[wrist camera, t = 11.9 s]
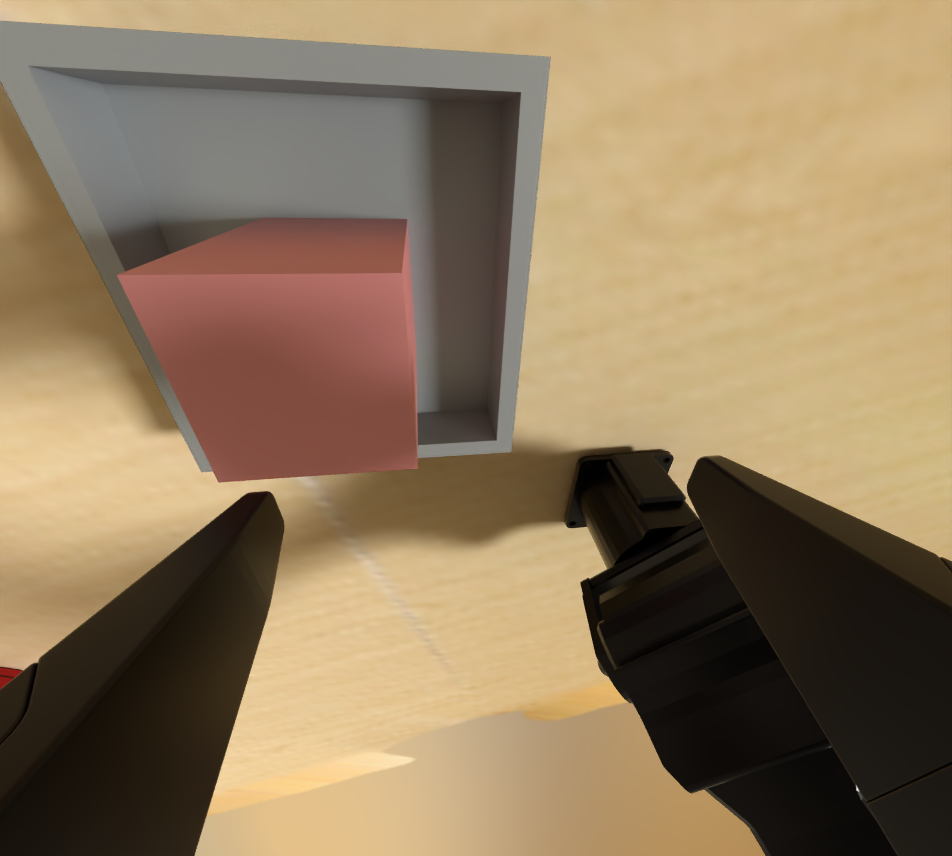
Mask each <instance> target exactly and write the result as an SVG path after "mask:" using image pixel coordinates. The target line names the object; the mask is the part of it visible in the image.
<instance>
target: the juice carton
mask: <svg viewBox="0 0 952 856" xmlns="http://www.w3.org/2000/svg"><path fill="white" fill-rule="evenodd" d="M117 277H118V279H119V281H120V283H121V285H122V287H123V289H124V291H125V293H126V295H127V297H128V299H129V301H130V303H131V305H132V307H133V309H134V311H135V313H136V315H137V317H138V319H139V321H140V323H141V326H142V328H143V330H144V332H145V334H146V336H147V338H148V340H149V342H150V344H151V346H152V348H153V350H154V352H155V354H156V356H157V358H158V360H159V362H160V364H161V366H162V368H163V370H164V372H165V374H166V376H167V378H168V380H169V383H170V385H171V387H172V389H173V391H174V393H175V395H176V397H177V399H178V401H179V403H180V405H181V407H182V409H183V411H184V413H185V415H186V417H187V419H188V421H189V423H190V425H191V427H192V429H193V431H194V433H195V435H196V437H197V439H198V442H199V444H200V446H201V448H202V450H203V452H204V454H205V456H206V458H207V460H208V462H209V464H210V466H211V468H212V470H213V472H214V474H215V476H216V478H217V480H218V482H230V481H245V480H260V479H274V478H289V477H303V476H318V475H332V474H347V473H362V472H376V471H391V470H405V469H418V429H417V358H416V335H415V321H414V306H413V292H412V278H411V263H410V249H409V235H408V220H407V219H351V218H261V219H259V220H256V221H253V222H251V223H248V224H246V225H243V226H241V227H238V228H236V229H233V230H230V231H228V232H225V233H223V234H220V235H218V236H215V237H213V238H210V239H208V240H205V241H202V242H200V243H197V244H195V245H192V246H190V247H187V248H185V249H182V250H179V251H177V252H174V253H172V254H169V255H167V256H164V257H162V258H159V259H157V260H154V261H151V262H149V263H146V264H144V265H141V266H139V267H136V268H134V269H131V270H128V271H126V272H123V273H121V274H118V275H117Z"/></svg>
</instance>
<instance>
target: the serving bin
mask: <svg viewBox="0 0 952 856" xmlns="http://www.w3.org/2000/svg"><path fill="white" fill-rule="evenodd" d="M550 59H551V57H544V56H529V55H513V54H498V53H483V52H468V51H453V50H437V49H422V48H407V47H392V46H376V45H361V44H346V43H331V42H316V41H300V40H285V39H270V38H255V37H239V36H224V35H209V34H194V33H179V32H163V31H148V30H133V29H118V28H102V27H87V26H72V25H57V24H41V23H26V22H11V21H0V81H1V83H2V85H3V87H4V89H5V91H6V93H7V95H8V97H9V99H10V101H11V103H12V105H13V106H14V108H15V110H16V112H17V114H18V116H19V118H20V120H21V122H22V124H23V126H24V128H25V130H26V132H27V134H28V136H29V138H30V140H31V142H32V143H33V145H34V147H35V149H36V151H37V153H38V155H39V157H40V159H41V161H42V163H43V165H44V167H45V169H46V171H47V173H48V175H49V177H50V178H51V180H52V182H53V184H54V186H55V188H56V190H57V192H58V194H59V196H60V198H61V200H62V202H63V204H64V206H65V208H66V210H67V212H68V214H69V215H70V217H71V219H72V221H73V223H74V225H75V227H76V229H77V231H78V233H79V235H80V237H81V239H82V241H83V243H84V245H85V247H86V249H87V250H88V252H89V254H90V256H91V258H92V260H93V262H94V264H95V266H96V268H97V270H98V272H99V274H100V276H101V278H102V280H103V282H104V284H105V286H106V287H107V289H108V291H109V293H110V295H111V297H112V299H113V301H114V303H115V305H116V307H117V309H118V311H119V313H120V315H121V317H122V319H123V321H124V323H125V324H126V326H127V328H128V330H129V332H130V334H131V336H132V338H133V340H134V342H135V344H136V346H137V348H138V350H139V352H140V354H141V356H142V358H143V359H144V361H145V363H146V365H147V367H148V369H149V371H150V373H151V375H152V377H153V379H154V381H155V383H156V385H157V387H158V389H159V391H160V393H161V395H162V396H163V398H164V400H165V402H166V404H167V406H168V408H169V410H170V412H171V414H172V416H173V418H174V420H175V422H176V424H177V426H178V428H179V430H180V431H181V433H182V435H183V437H184V439H185V441H186V443H187V445H188V447H189V449H190V451H191V453H192V455H193V457H194V459H195V461H196V463H197V465H198V467H199V468H200V470H201V472H211V471H213V470H212V468H211V466H210V464H209V462H208V460H207V458H206V456H205V454H204V452H203V450H202V448H201V446H200V444H199V442H198V439H197V437H196V435H195V433H194V431H193V429H192V427H191V425H190V423H189V421H188V419H187V417H186V415H185V413H184V411H183V409H182V407H181V405H180V403H179V401H178V399H177V397H176V395H175V393H174V391H173V389H172V387H171V385H170V383H169V380H168V378H167V376H166V374H165V372H164V370H163V368H162V366H161V364H160V362H159V360H158V358H157V356H156V354H155V352H154V350H153V348H152V346H151V344H150V342H149V340H148V338H147V336H146V334H145V332H144V330H143V328H142V326H141V323H140V321H139V319H138V317H137V315H136V313H135V311H134V309H133V307H132V305H131V303H130V301H129V299H128V297H127V295H126V293H125V291H124V289H123V287H122V285H121V283H120V281H119V279H118V277H117V275H118V274H121V273H123V272H126V271H128V270H131V269H134V268H136V267H139V266H141V265H144V264H146V263H149V262H151V261H154V260H157V259H159V258H162V257H164V256H167V255H169V254H172V253H174V252H177V251H179V250H182V249H185V248H187V247H190V246H192V245H195V244H197V243H200V242H202V241H205V240H208V239H210V238H213V237H215V236H218V235H220V234H223V233H225V232H228V231H230V230H233V229H236V228H238V227H241V226H243V225H246V224H248V223H251V222H253V221H256V220H259V219H261V218H351V219H407V220H408V235H409V249H410V263H411V278H412V292H413V306H414V321H415V335H416V358H417V429H418V458H428V457H443V456H459V455H474V454H490V453H506V452H511V450H512V440H513V430H514V420H515V410H516V400H517V390H518V380H519V370H520V360H521V350H522V340H523V330H524V320H525V310H526V300H527V290H528V280H529V270H530V260H531V250H532V240H533V230H534V220H535V210H536V200H537V190H538V180H539V170H540V160H541V149H542V139H543V129H544V119H545V109H546V99H547V89H548V79H549V69H550Z"/></svg>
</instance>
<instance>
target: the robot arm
mask: <svg viewBox="0 0 952 856" xmlns="http://www.w3.org/2000/svg"><path fill="white" fill-rule="evenodd" d="M672 462H673V456H672V455H671V453H670V452H668V451H658V452H643V453H628V454H613V455H599V456H586V457H583V458H581V459H580V460H579V461H578V464H577V468H576V472H575V477H574V481H573V485H572V490H571V494H570V498H569V503H568V507H567V511H566V516H565V520H564V521H565V524H566V526H567V527H568V528H579V527H588V529H589V531H590V533H591V535H592V538H593V540H594V542H595V544H596V546H597V548H598V550H599V552H600V554H601V557H602V559H603V561H604V563H605V565H606V567H607V570H605V571H603V572H601V573H600V574H598V575H596V576H594V577H592V578H590V579H589V578H587V579H585V580H583V581H582V582H580V583H581V588H582V592H583V595H582V597H583V602H584V606H585V610H586V615H587V619H588V624H589V628H590V632H591V637H592V641H593V646H594V650H595V654H596V657H597V659H598V666H599V668H600V670H601V672H602V673H603V674H604V675H606V676H608V677H609V678H610V680H611V681H612V683H613V685H614V686H615V688H616V689H617V690H618V692H619V693H620V694H621V695H622V697H623V698H624V699H625V700H626V701H628V702H629V703H632V704H634V706H635V708H636V710H637V712H638V714H639V715H640V717H641V719H642V721H643V723H644V725H645V728H646V730H647V732H648V734H649V736H650V738H651V741H652V743H653V745H654V747H655V749H656V752H657V754H658V756H659V758H660V760H661V762H662V764H663V766H664V768H665V769H666V770H667V771H668V772H669V773H670V774H671V775H672V776H673V777H674V778H675V779H676V780H677V781H678V782H679V783H680V785H681V786H682V787H683V788H684V789H685V790H687V791H688V792H689V793H695V792H698V791H701V790H706V791H707V792H708V793H709V794H711V796H713V797H714V798H715V799H716V800H717V801H719V802H720V803H721V804H722V805H724V806H725V807H726V808H727V809H728V810H730V811H731V812H732V813H733V814H734V815H736V816H737V817H738V818H739V819H740V820H742V821H743V822H744V823H745V824H746V825H747V826H748V827H749V828H750V830H751V831H752V833H753V835H754V836H755V838H756V840H757V842H758V843H759V845H760V847H761V848H762V850H763V852H764V854H765V855H766V856H952V561H950V560H948V559H945V558H943V557H938V556H937V555H936V554H934V553H932V552H930V551H928V550H926V549H923V548H921V547H919V546H917V545H915V544H912V543H910V542H908V541H906V540H904V539H902V538H899V537H897V536H895V535H893V534H891V533H888V532H886V531H884V530H882V529H880V528H878V527H875V526H873V525H871V524H869V523H867V522H864V521H862V520H860V519H858V518H856V517H854V516H851V515H849V514H847V513H845V512H843V511H840V510H838V509H836V508H834V507H832V506H830V505H827V504H825V503H823V502H821V501H819V500H816V499H814V498H812V497H810V496H808V495H806V494H803V493H801V492H799V491H797V490H795V489H792V488H790V487H788V486H786V485H784V484H782V483H779V482H777V481H775V480H773V479H771V478H768V477H766V476H764V475H762V474H760V473H758V472H755V471H753V470H751V469H749V468H747V467H744V466H742V465H740V464H738V463H736V462H734V461H731V460H729V459H727V458H725V457H722V456H704V457H701V458H700V459H698V460H697V462H696V465H695V467H694V469H693V472H692V474H691V476H690V479H689V481H688V484H687V492H688V496H689V498H690V500H691V502H692V504H693V506H694V508H695V510H696V512H697V515H698V517H699V518H698V517H697V515H696V514H695V513H694V512H693V510H692V509H691V508H690V507H689V505H688V504H687V503H686V502H685V499H686V497H685V495H684V494H683V493H682V491H681V490H680V489H679V488H678V486H677V485H676V484H675V483H674V481H673V480H672V479H671V478H670V476H669V475H668V471H669V469H670V467H671V464H672ZM587 463H588V464H587ZM585 464H587V465H585ZM283 534H284V520H283V517H282V515H281V512H280V510H279V508H278V505H277V503H276V500H275V498H274V496H273V494H272V493H271V492H268V491H264V492H251V493H247V494H246V495H244V496H243V497H241V498H240V499H239V500H238V501H236V502H235V503H234V504H233V505H231V506H230V507H229V508H228V509H226V510H225V511H224V512H223V513H221V514H220V515H219V516H218V517H216V518H215V519H214V520H213V521H211V522H210V523H209V524H208V525H206V526H205V527H204V528H202V529H201V530H200V531H199V532H197V533H196V534H195V535H194V536H192V537H191V538H190V539H189V540H187V541H186V542H185V543H184V544H182V545H181V546H180V547H179V548H177V549H176V550H175V551H174V552H172V553H171V554H170V555H169V556H167V557H166V558H165V559H164V560H162V561H161V562H160V563H158V564H157V565H156V566H155V567H153V568H152V569H151V570H150V571H148V572H147V573H146V574H145V575H143V576H142V577H141V578H140V579H138V580H137V581H136V582H135V583H133V584H132V585H131V586H130V587H128V588H127V589H126V590H125V591H123V592H122V593H121V594H119V595H118V596H117V597H116V598H114V599H113V600H112V601H111V602H109V603H108V604H107V605H106V606H104V607H103V608H102V609H101V610H99V611H98V612H97V613H96V614H94V615H93V616H92V617H91V618H89V619H88V620H87V621H86V622H84V623H83V624H82V625H80V626H79V627H78V628H77V629H75V630H74V631H73V632H72V633H70V634H69V635H68V636H67V637H65V638H64V639H63V640H62V641H60V642H59V643H58V644H57V645H55V646H54V647H53V648H52V649H50V650H49V651H48V652H46V653H45V654H44V655H43V656H41V657H40V659H39V661H38V663H33V664H31V665H30V666H29V667H27V668H26V669H25V670H24V671H22V672H21V673H20V674H19V675H17V676H16V677H15V678H14V679H12V680H11V681H10V682H9V683H7V684H6V685H5V686H3V687H2V688H1V689H0V856H194V855H195V852H196V849H197V845H198V842H199V838H200V835H201V832H202V829H203V826H204V822H205V819H206V816H207V812H208V809H209V806H210V803H211V799H212V796H213V793H214V789H215V786H216V783H217V780H218V776H219V773H220V770H221V766H222V763H223V760H224V756H225V753H226V750H227V747H228V743H229V740H230V737H231V733H232V730H233V727H234V724H235V720H236V717H237V714H238V710H239V707H240V704H241V701H242V697H243V694H244V691H245V687H246V684H247V681H248V677H249V674H250V671H251V668H252V664H253V661H254V658H255V654H256V651H257V648H258V645H259V641H260V638H261V635H262V631H263V628H264V625H265V621H266V618H267V615H268V611H269V607H270V604H271V599H272V594H273V589H274V584H275V578H276V573H277V567H278V562H279V556H280V551H281V545H282V540H283Z"/></svg>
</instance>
